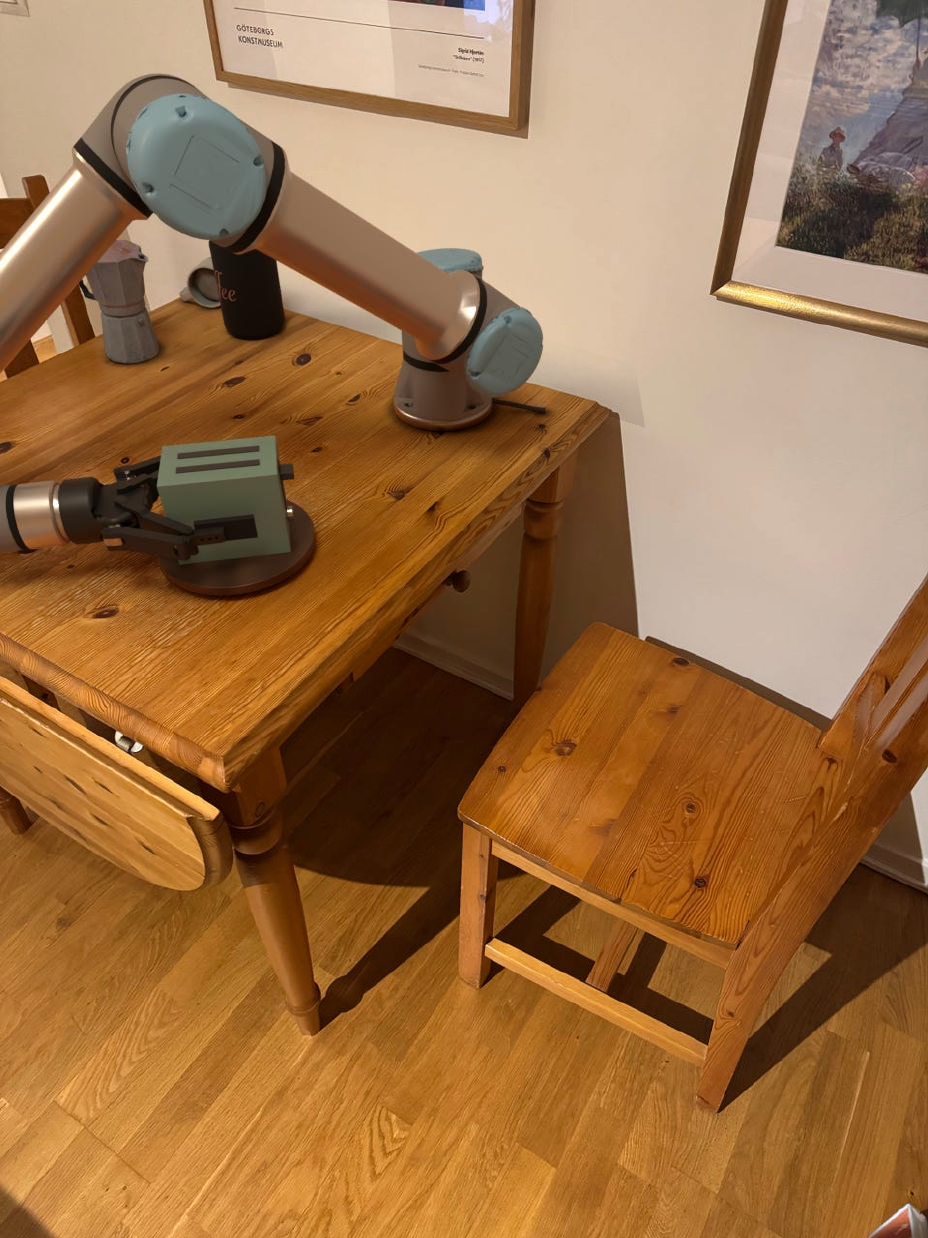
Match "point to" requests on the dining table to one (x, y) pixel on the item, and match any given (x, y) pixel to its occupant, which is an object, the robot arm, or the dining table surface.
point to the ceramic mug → (202, 285)
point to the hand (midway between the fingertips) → (255, 492)
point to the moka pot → (123, 303)
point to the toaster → (234, 514)
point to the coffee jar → (248, 293)
